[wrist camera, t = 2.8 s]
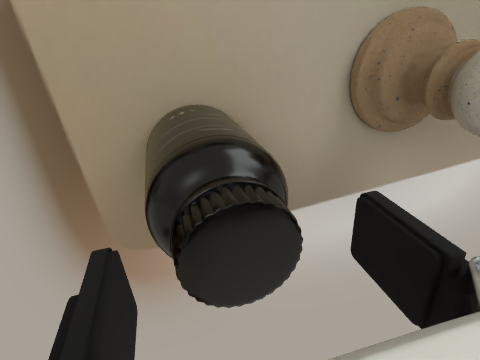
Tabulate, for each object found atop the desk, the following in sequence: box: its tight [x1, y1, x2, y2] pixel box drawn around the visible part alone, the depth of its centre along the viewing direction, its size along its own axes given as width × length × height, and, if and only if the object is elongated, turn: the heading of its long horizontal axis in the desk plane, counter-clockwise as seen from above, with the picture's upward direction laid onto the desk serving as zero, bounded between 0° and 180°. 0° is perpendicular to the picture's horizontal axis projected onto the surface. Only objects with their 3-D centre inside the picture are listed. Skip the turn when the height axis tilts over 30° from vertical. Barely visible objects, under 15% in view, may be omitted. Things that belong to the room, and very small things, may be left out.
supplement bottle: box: [145, 105, 303, 308], centre depth 16 cm, size 7×7×12 cm
